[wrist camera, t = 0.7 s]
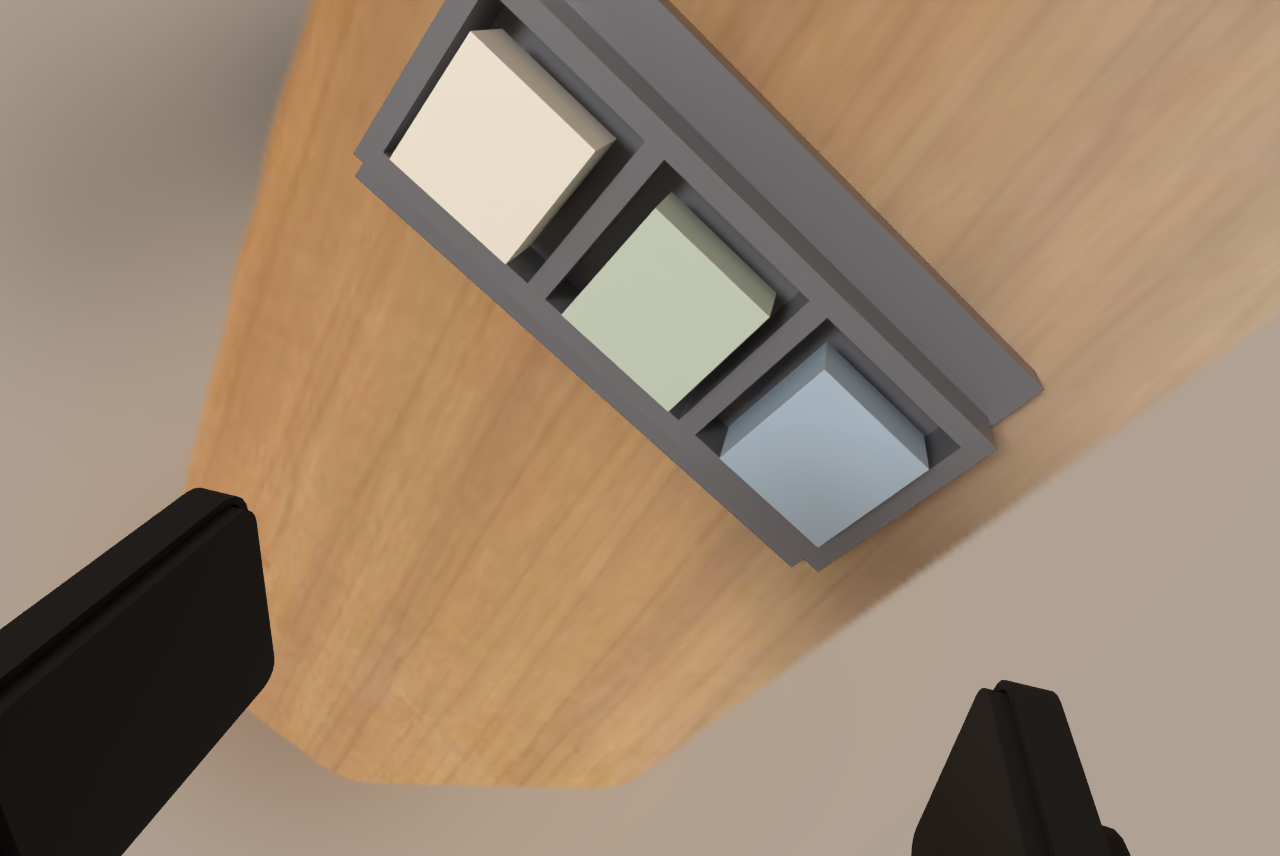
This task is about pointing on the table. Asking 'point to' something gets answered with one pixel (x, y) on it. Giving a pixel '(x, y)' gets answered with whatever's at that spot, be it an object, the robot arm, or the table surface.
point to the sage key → (671, 303)
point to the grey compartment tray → (743, 219)
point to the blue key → (824, 446)
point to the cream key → (500, 143)
